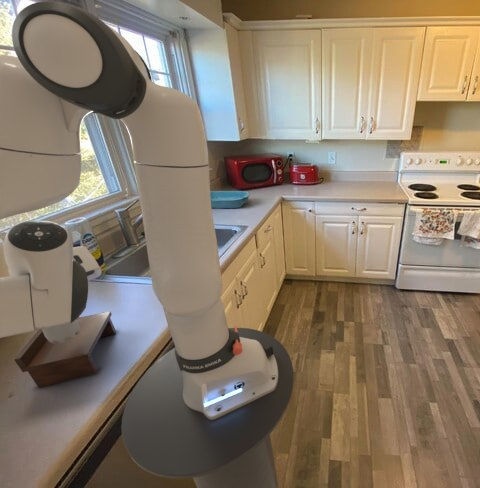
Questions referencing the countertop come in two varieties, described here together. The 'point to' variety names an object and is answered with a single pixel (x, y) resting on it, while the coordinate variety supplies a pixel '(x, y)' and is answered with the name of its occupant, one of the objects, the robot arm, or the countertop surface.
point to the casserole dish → (228, 199)
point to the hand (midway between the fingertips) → (45, 298)
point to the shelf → (65, 352)
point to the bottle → (61, 332)
